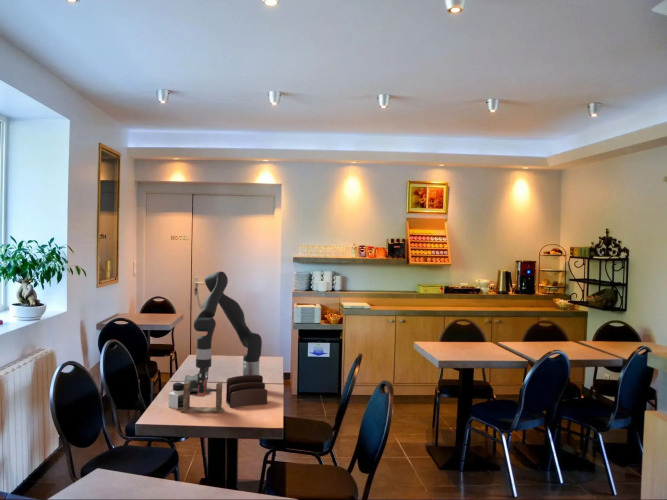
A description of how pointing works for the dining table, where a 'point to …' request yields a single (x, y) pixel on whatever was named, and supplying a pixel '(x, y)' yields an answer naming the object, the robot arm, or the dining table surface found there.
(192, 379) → the rock
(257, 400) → the letter holder
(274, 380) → the dining table surface
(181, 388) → the medicine bottle
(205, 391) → the pink u-shaped bracket
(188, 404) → the rail stand
